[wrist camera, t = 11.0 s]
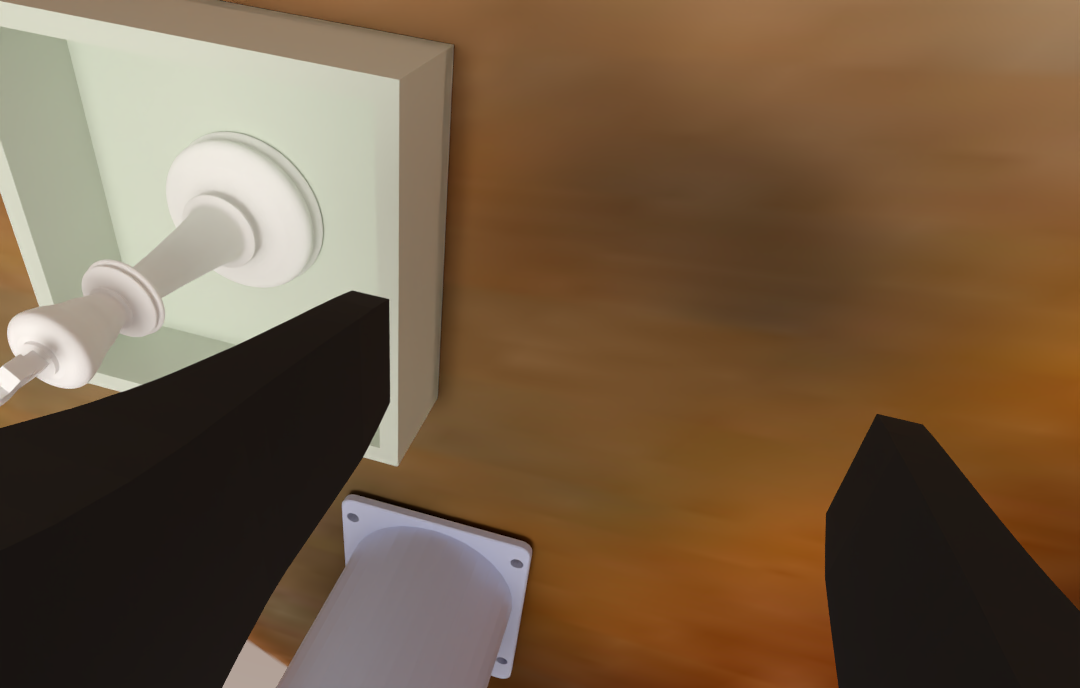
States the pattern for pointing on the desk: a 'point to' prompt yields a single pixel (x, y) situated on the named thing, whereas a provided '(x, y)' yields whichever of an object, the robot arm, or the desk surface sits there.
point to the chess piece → (177, 258)
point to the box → (242, 107)
